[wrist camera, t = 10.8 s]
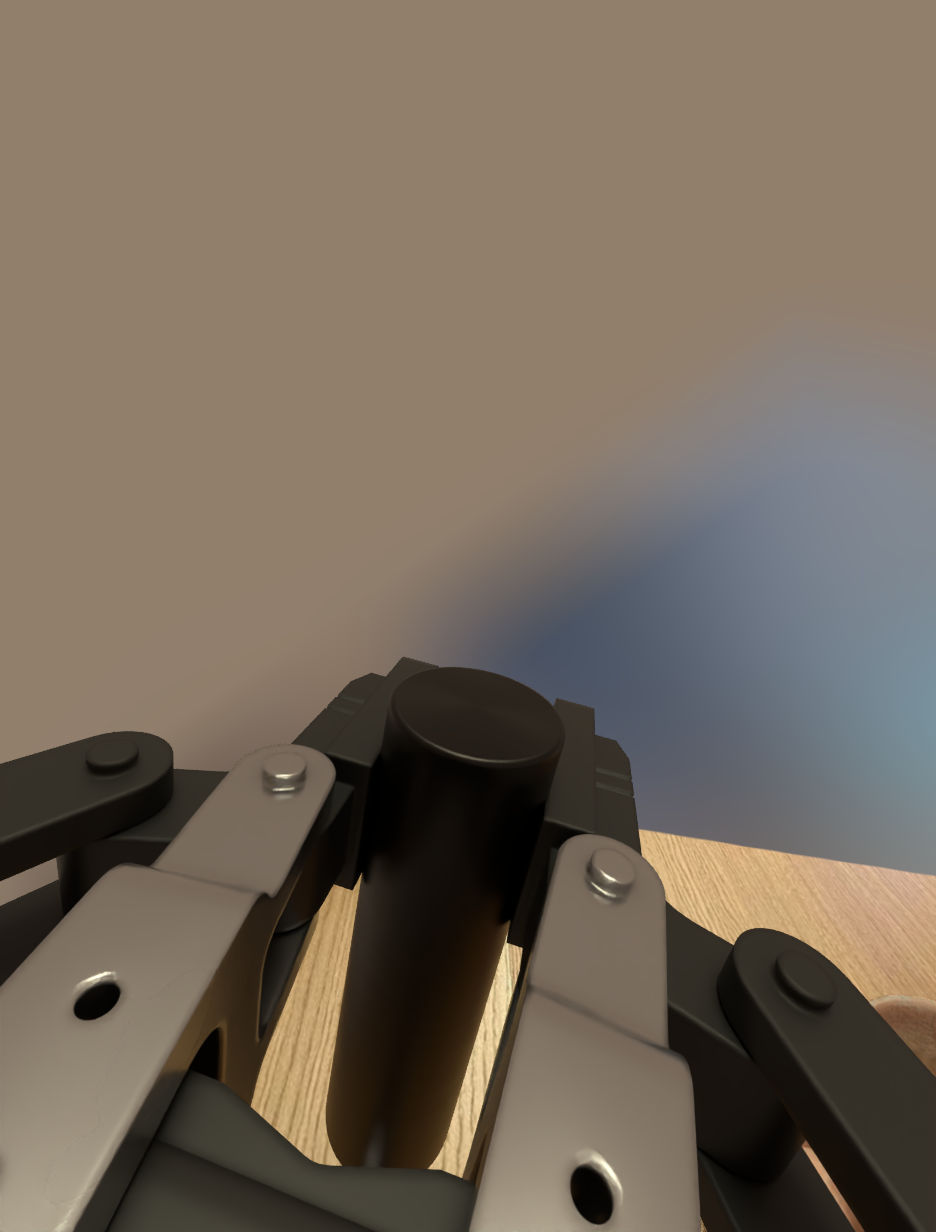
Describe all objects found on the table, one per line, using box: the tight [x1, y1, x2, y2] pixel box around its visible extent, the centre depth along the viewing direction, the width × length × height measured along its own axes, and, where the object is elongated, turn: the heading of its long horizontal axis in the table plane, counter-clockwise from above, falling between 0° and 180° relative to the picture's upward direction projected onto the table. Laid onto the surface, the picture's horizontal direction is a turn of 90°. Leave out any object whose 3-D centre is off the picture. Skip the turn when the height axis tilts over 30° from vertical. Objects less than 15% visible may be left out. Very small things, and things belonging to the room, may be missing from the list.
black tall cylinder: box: [326, 667, 565, 1169], centre depth 10 cm, size 2×3×17 cm
